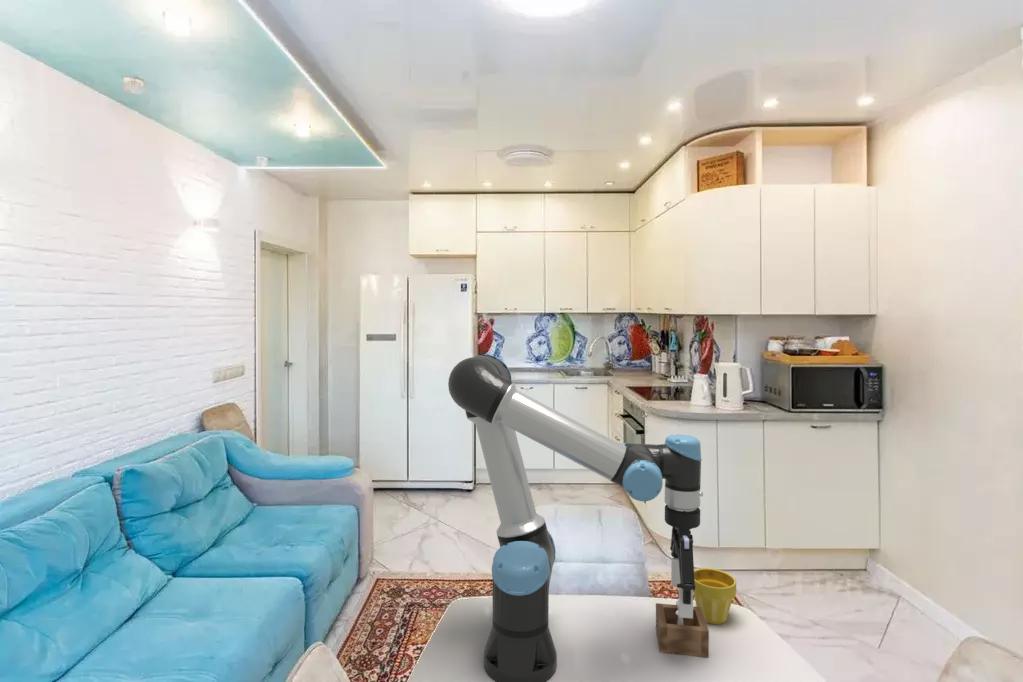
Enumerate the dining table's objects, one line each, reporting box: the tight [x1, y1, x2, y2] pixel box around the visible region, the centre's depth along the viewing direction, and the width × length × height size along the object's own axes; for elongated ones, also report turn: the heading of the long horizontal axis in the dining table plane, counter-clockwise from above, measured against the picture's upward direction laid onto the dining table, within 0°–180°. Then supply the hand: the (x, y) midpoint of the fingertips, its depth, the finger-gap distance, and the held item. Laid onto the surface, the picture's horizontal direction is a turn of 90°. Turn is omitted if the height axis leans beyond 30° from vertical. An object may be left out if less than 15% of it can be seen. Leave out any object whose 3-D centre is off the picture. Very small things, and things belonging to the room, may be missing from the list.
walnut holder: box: [655, 602, 710, 659], centre depth 120 cm, size 10×10×6 cm
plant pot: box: [693, 567, 737, 625], centre depth 130 cm, size 10×10×10 cm
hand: (681, 600), depth 120 cm, fingers open, 13 cm apart
